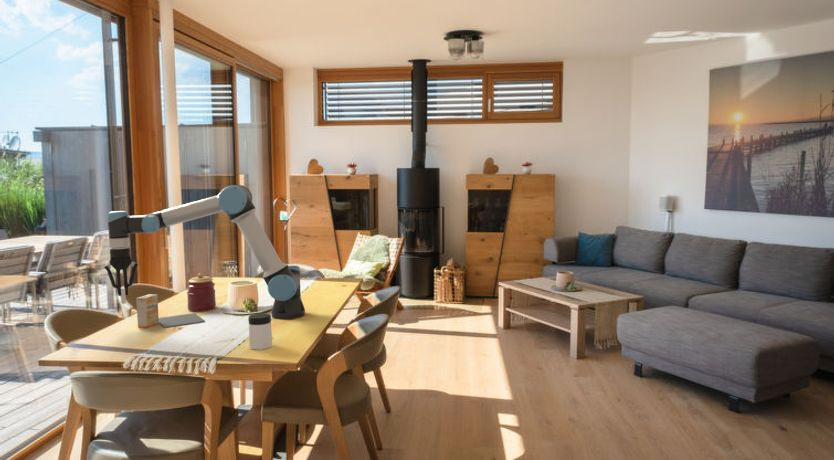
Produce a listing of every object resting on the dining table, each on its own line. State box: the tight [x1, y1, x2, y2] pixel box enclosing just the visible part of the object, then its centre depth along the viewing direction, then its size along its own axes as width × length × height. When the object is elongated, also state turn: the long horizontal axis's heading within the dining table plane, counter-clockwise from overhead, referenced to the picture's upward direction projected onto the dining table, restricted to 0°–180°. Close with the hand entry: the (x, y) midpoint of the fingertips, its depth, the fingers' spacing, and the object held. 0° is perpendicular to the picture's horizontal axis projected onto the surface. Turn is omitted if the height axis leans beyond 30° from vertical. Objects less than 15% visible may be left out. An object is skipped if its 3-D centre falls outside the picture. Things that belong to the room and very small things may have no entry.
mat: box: [158, 312, 206, 329], centre depth 261 cm, size 18×17×1 cm
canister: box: [186, 272, 217, 312], centre depth 283 cm, size 13×13×18 cm
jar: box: [248, 312, 273, 351], centre depth 220 cm, size 9×8×12 cm
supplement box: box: [136, 293, 160, 329], centre depth 253 cm, size 8×5×13 cm, turn 168°
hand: (123, 303), depth 248 cm, fingers closed
